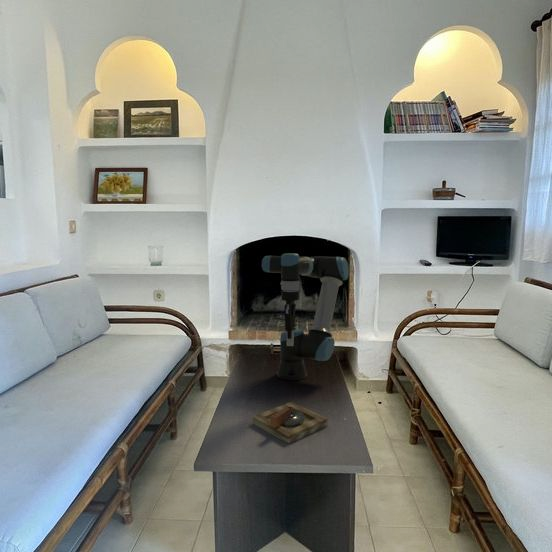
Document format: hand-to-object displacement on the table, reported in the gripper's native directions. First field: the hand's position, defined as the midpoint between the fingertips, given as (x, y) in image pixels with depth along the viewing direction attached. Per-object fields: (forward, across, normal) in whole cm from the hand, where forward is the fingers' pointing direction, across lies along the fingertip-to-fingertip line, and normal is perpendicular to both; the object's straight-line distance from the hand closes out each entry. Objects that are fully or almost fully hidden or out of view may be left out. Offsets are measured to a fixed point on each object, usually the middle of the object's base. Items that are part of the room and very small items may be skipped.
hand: (290, 345), depth 176 cm
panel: (+24, +22, +4) cm, 33 cm away
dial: (+23, +24, +4) cm, 33 cm away
